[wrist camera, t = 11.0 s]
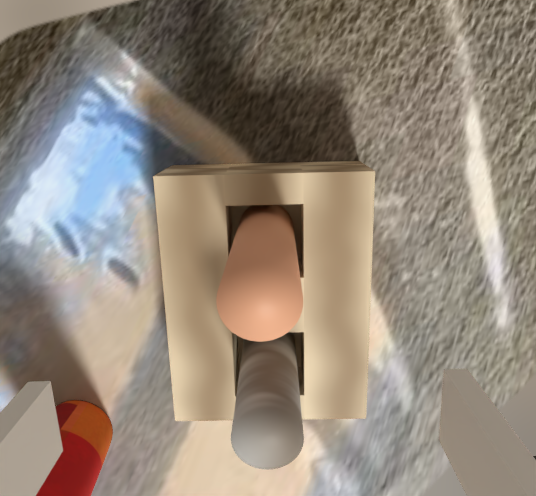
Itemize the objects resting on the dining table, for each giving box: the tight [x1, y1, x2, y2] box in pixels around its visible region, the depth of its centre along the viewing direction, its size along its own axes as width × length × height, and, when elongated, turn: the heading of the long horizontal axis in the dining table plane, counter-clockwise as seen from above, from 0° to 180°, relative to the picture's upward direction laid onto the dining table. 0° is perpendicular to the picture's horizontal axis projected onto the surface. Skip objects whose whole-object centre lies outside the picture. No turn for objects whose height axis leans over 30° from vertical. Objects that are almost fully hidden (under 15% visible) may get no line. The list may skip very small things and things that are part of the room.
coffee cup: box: [36, 400, 113, 496], centre depth 36 cm, size 8×8×15 cm
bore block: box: [153, 161, 375, 469], centre depth 32 cm, size 14×18×14 cm
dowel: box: [216, 205, 303, 342], centre depth 29 cm, size 4×4×14 cm
